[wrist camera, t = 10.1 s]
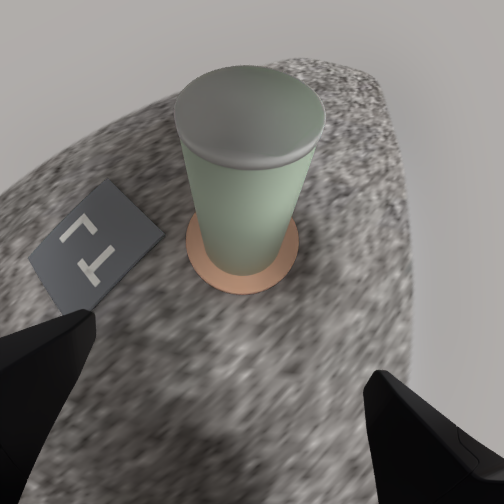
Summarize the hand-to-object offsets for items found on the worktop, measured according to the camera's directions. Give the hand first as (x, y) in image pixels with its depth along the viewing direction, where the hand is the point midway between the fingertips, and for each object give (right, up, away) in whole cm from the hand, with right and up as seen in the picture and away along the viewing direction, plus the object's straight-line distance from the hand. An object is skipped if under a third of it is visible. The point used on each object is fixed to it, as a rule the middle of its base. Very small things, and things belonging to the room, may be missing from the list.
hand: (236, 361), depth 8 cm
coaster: (0, +4, +13) cm, 14 cm away
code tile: (-12, +4, +12) cm, 18 cm away
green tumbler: (0, +4, +13) cm, 13 cm away
